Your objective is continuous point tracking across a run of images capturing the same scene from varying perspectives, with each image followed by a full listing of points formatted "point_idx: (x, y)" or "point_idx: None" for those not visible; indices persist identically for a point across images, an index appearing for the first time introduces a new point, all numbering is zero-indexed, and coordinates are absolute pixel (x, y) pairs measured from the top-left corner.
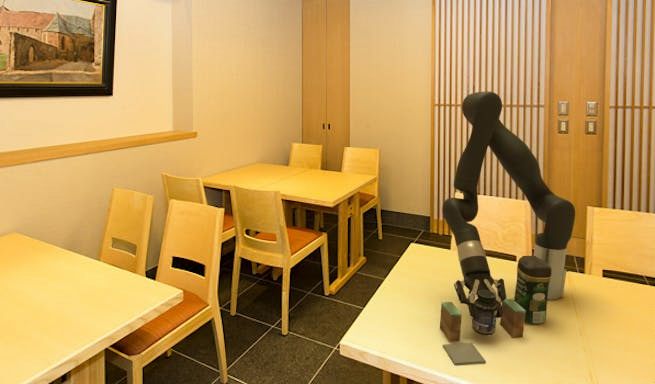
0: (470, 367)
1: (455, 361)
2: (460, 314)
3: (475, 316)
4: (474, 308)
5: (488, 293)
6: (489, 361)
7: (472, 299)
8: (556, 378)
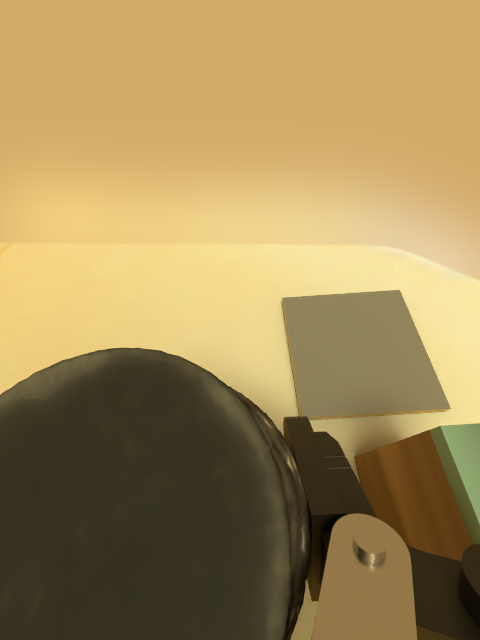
0: (341, 285)
1: (396, 297)
2: (453, 425)
3: (306, 418)
4: (318, 464)
5: (28, 556)
6: (263, 311)
7: (359, 576)
8: (104, 243)
